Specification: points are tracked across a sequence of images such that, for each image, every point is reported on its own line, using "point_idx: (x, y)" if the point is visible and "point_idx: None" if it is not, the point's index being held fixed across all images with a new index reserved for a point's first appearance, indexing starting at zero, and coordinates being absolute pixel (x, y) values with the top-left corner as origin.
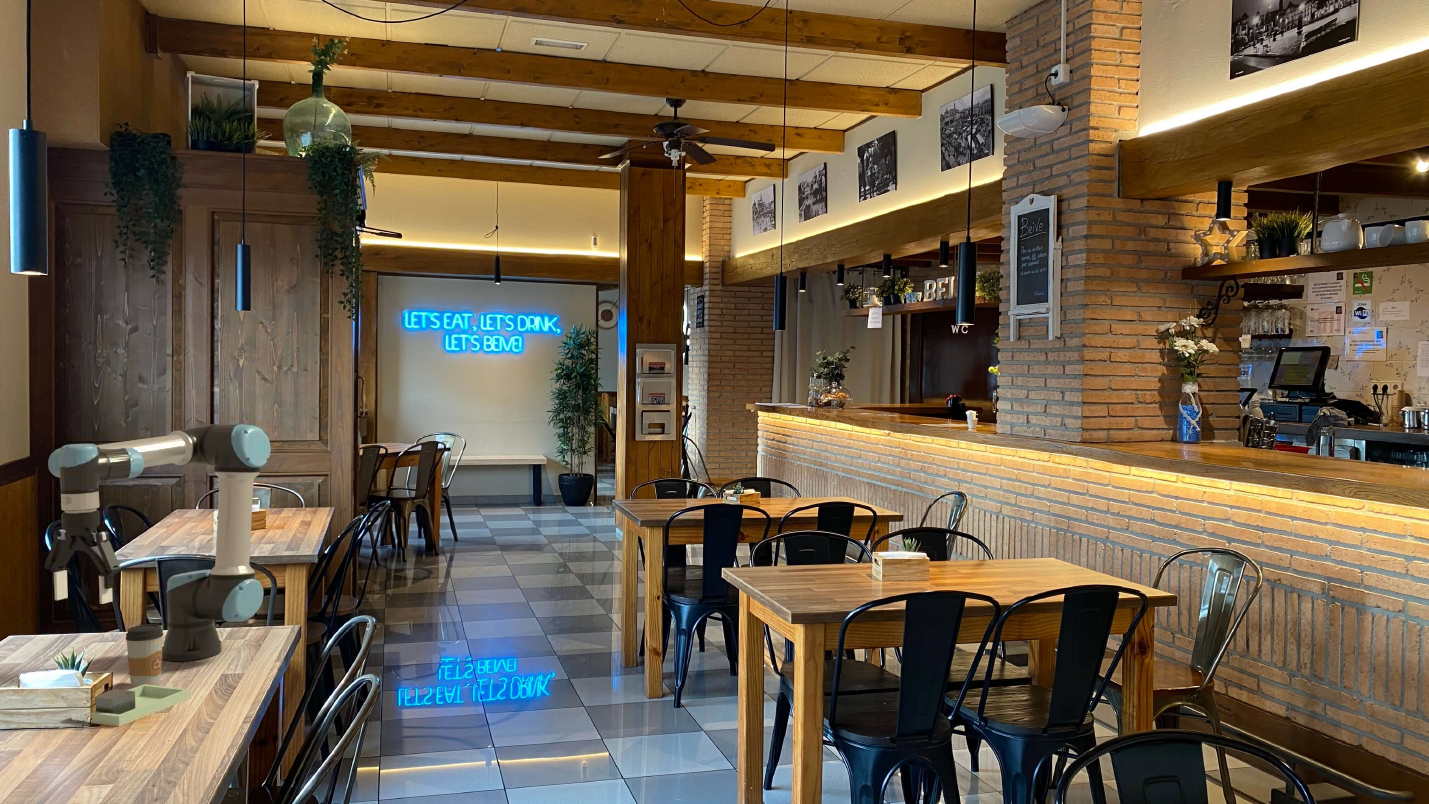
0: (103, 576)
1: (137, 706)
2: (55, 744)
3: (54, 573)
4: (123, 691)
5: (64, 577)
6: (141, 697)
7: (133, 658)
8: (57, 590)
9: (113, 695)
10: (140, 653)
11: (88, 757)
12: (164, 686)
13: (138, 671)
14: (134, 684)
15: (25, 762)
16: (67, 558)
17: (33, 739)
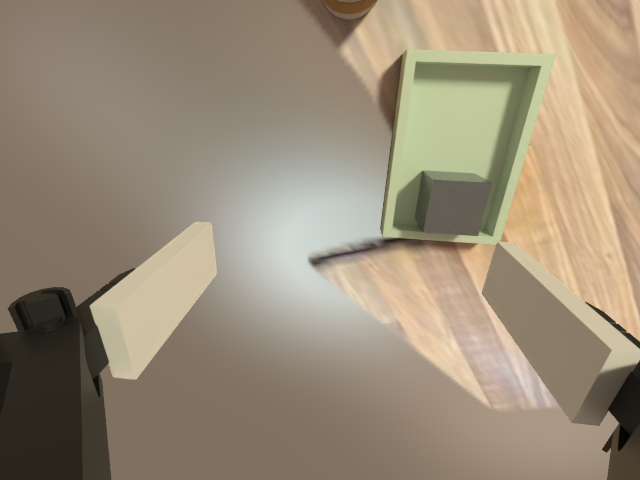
0: (600, 405)
1: (451, 139)
2: (429, 300)
3: (123, 373)
4: (465, 189)
5: (152, 295)
6: (418, 83)
7: (350, 2)
8: (196, 296)
9: (462, 215)
10: None
11: None
12: (471, 51)
13: (362, 8)
14: (347, 17)
15: (439, 352)
16: (93, 456)
17: (379, 291)
